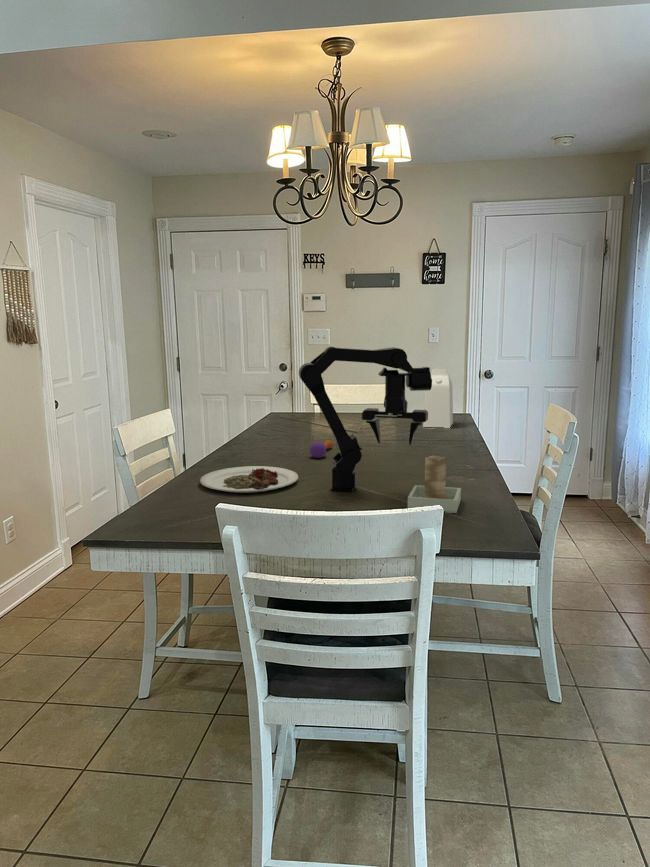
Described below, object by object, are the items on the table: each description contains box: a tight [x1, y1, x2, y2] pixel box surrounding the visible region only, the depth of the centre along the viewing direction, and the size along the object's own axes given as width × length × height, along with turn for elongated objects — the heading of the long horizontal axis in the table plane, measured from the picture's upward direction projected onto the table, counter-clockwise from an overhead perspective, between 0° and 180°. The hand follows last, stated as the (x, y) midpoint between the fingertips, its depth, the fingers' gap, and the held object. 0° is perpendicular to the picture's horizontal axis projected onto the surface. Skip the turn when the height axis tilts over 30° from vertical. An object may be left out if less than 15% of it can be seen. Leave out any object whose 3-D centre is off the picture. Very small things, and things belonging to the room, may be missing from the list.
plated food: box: [199, 465, 299, 494], centre depth 201 cm, size 30×30×3 cm
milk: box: [422, 368, 454, 429], centre depth 294 cm, size 12×12×26 cm
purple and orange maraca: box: [309, 439, 334, 459], centre depth 241 cm, size 6×6×20 cm
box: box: [407, 484, 462, 514], centre depth 175 cm, size 13×13×4 cm
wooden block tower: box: [423, 455, 453, 500], centre depth 174 cm, size 7×7×12 cm
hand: (394, 443), depth 192 cm, fingers open, 9 cm apart
